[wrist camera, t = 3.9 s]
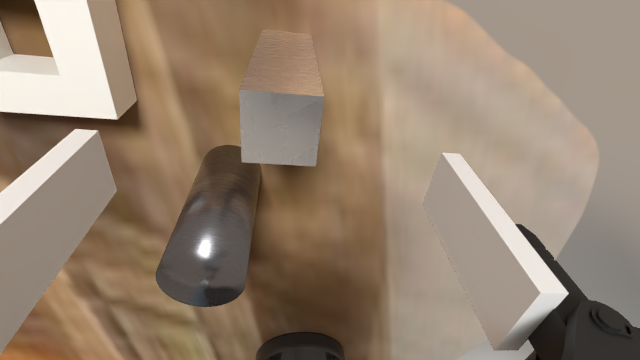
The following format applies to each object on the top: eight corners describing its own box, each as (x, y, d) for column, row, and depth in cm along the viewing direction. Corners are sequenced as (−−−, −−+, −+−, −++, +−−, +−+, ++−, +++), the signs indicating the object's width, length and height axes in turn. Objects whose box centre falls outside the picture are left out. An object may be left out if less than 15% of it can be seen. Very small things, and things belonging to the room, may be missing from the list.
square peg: (307, 81, 29) (315, 166, 18) (261, 77, 29) (241, 162, 18) (311, 33, 27) (324, 96, 16) (262, 29, 27) (239, 89, 15)
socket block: (137, 100, 29) (117, 119, 26) (-12, 89, 28) (-53, 107, 25) (100, -67, 23) (68, -69, 19) (-99, -93, 21) (-171, -100, 18)
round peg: (260, 194, 36) (246, 307, 25) (204, 191, 36) (163, 306, 24) (261, 147, 33) (244, 252, 22) (199, 143, 32) (148, 250, 21)
